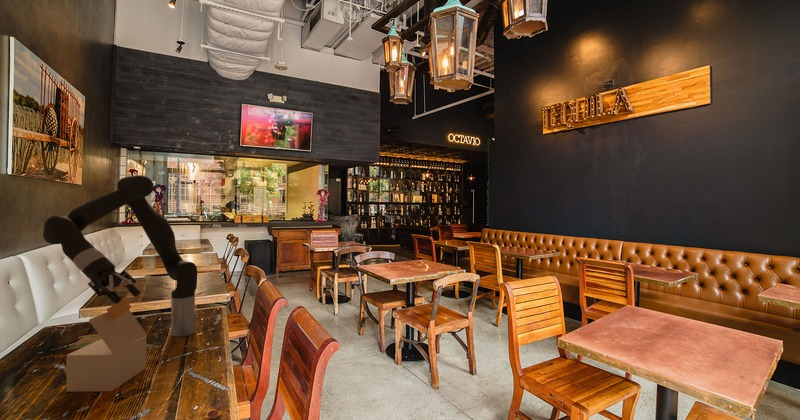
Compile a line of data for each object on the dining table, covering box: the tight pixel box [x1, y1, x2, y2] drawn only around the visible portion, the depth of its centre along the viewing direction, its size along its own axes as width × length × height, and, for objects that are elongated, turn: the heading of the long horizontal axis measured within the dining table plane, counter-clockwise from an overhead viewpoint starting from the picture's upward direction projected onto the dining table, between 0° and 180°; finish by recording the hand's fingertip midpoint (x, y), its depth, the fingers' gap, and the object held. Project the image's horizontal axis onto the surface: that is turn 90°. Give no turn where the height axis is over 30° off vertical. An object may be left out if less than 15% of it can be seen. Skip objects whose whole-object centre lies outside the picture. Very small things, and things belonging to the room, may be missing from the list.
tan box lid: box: [88, 297, 148, 353], centre depth 121 cm, size 14×15×7 cm
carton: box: [64, 333, 102, 361], centre depth 145 cm, size 8×16×4 cm, turn 20°
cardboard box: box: [65, 335, 147, 393], centre depth 121 cm, size 14×16×12 cm
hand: (129, 298), depth 121 cm, fingers open, 8 cm apart
